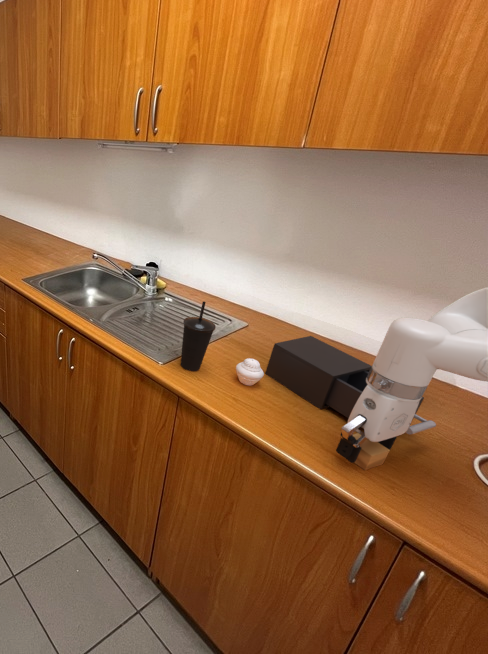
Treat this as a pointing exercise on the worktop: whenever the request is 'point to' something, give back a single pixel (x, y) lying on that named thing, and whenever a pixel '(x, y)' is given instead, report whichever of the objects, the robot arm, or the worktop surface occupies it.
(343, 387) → the pull-out drawer
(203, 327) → the drinking cup
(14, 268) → the worktop surface
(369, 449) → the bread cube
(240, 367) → the muffin
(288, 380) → the drawer box
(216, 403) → the worktop surface
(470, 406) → the worktop surface
